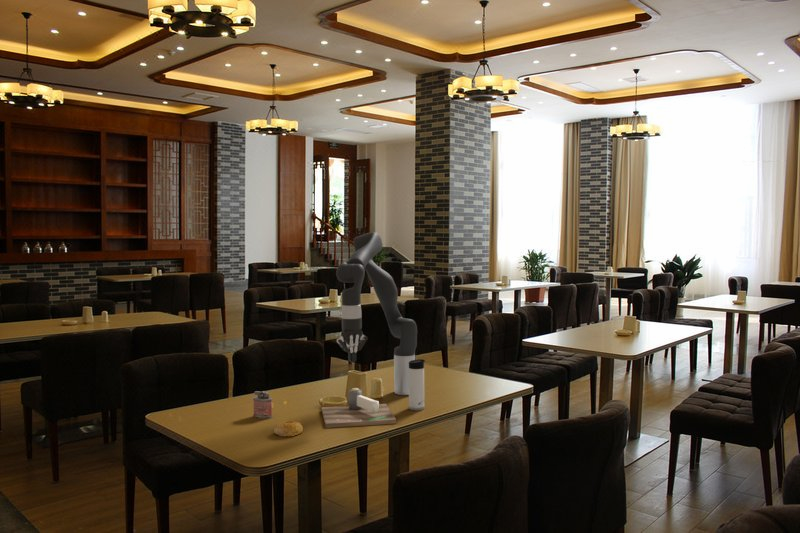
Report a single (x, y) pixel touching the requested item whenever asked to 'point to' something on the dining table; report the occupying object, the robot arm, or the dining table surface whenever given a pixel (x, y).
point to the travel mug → (416, 384)
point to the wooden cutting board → (356, 416)
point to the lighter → (262, 405)
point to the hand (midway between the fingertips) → (352, 362)
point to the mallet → (362, 401)
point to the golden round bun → (288, 428)
